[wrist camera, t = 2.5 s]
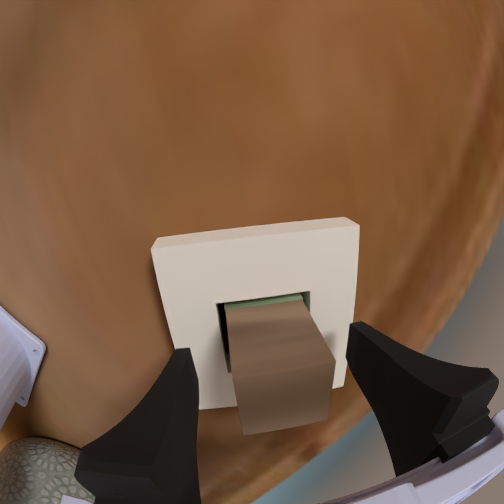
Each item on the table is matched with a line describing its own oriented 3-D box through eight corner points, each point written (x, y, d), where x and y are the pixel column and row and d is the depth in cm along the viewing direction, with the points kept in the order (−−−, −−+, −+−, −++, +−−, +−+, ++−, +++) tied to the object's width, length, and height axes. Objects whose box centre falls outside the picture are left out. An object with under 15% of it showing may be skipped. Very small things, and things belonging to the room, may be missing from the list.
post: (294, 339, 16) (328, 419, 10) (231, 348, 16) (242, 435, 10) (294, 283, 15) (337, 359, 9) (223, 292, 14) (230, 378, 9)
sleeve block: (334, 369, 17) (344, 388, 16) (195, 391, 16) (194, 412, 15) (344, 216, 14) (361, 226, 12) (157, 237, 13) (149, 250, 11)
